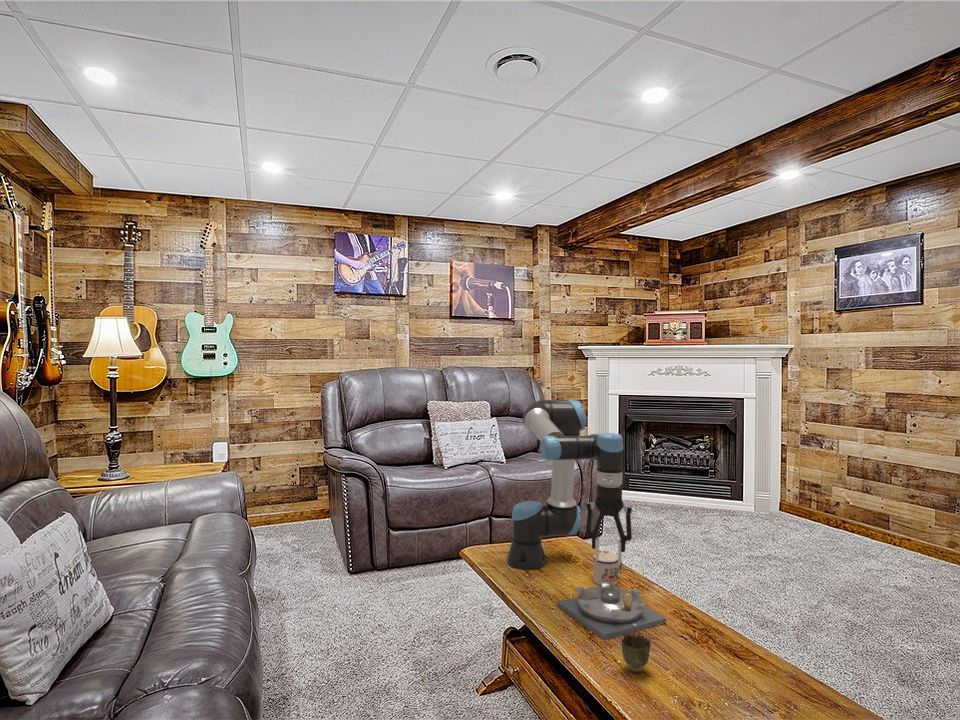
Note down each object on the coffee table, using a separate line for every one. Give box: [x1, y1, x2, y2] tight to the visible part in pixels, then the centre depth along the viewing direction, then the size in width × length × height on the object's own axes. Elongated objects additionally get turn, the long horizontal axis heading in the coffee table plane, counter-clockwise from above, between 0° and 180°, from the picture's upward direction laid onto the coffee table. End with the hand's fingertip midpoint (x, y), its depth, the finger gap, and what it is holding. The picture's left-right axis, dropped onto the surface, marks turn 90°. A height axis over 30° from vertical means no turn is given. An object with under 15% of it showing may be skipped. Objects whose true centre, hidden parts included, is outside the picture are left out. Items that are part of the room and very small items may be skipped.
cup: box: [620, 633, 651, 674], centre depth 148 cm, size 8×7×8 cm
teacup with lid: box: [592, 548, 624, 587], centre depth 205 cm, size 12×9×12 cm
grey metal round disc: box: [575, 582, 647, 624], centre depth 179 cm, size 20×22×8 cm
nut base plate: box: [556, 596, 667, 641], centre depth 179 cm, size 24×24×2 cm
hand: (608, 560), depth 171 cm, fingers open, 6 cm apart
